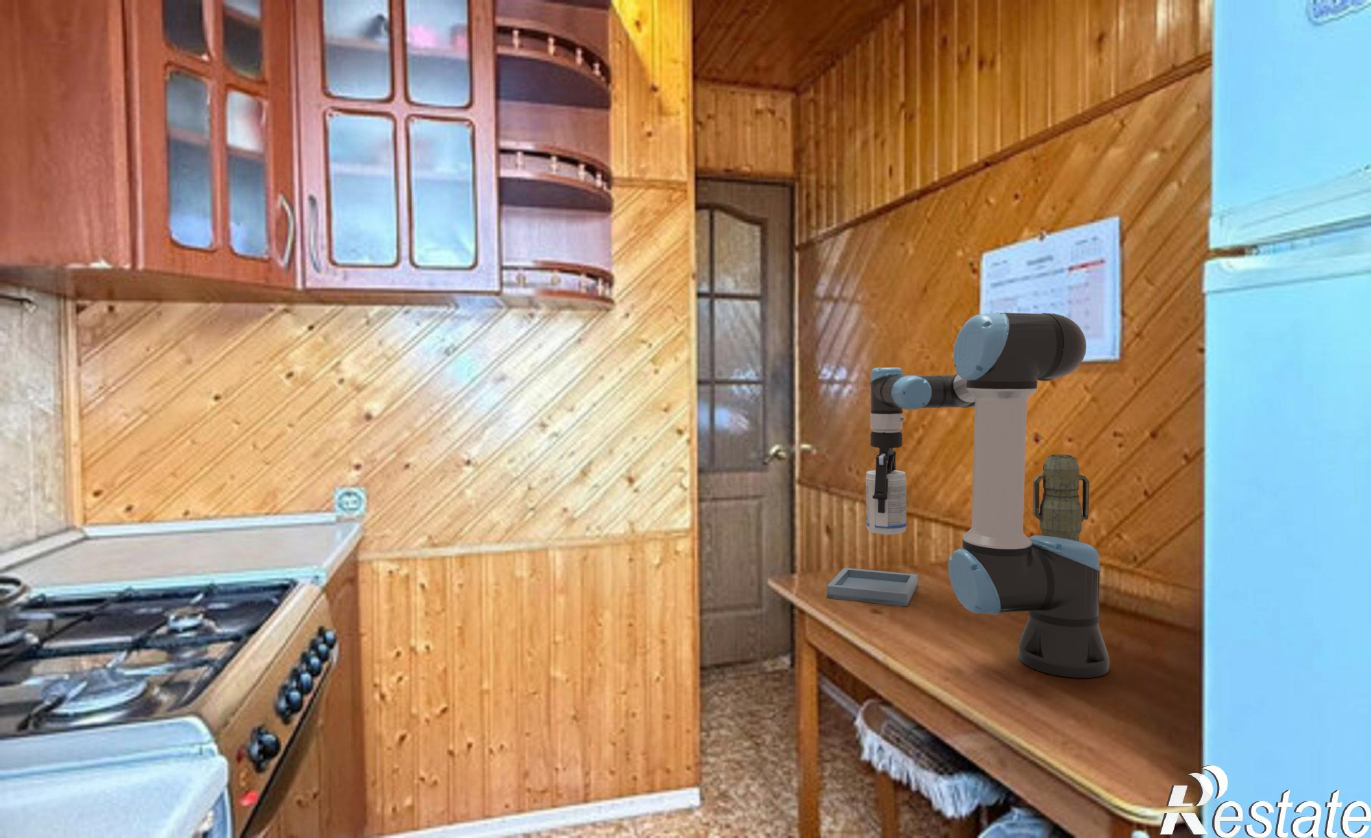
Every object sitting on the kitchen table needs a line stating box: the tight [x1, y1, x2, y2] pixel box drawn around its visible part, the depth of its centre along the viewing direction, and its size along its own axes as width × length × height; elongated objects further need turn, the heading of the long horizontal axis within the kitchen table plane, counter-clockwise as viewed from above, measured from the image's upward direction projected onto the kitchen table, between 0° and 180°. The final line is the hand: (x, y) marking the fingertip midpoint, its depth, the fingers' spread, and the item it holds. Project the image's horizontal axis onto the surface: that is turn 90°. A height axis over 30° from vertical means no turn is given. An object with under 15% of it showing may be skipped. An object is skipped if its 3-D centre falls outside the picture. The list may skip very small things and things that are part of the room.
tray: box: [826, 567, 919, 607], centre depth 186 cm, size 19×19×3 cm
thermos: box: [1032, 454, 1090, 542], centre depth 174 cm, size 9×12×35 cm
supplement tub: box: [865, 469, 907, 536], centre depth 181 cm, size 10×10×15 cm
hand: (885, 521), depth 181 cm, fingers closed on supplement tub, 9 cm apart
